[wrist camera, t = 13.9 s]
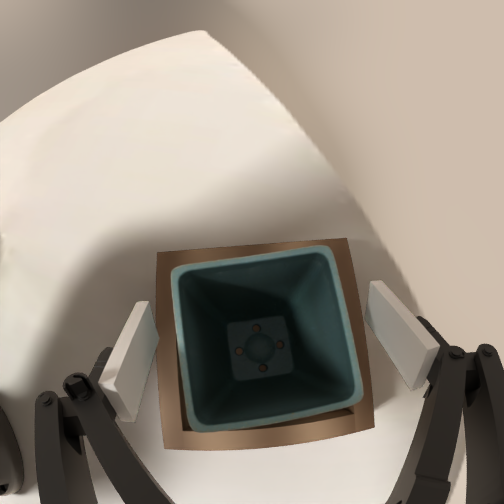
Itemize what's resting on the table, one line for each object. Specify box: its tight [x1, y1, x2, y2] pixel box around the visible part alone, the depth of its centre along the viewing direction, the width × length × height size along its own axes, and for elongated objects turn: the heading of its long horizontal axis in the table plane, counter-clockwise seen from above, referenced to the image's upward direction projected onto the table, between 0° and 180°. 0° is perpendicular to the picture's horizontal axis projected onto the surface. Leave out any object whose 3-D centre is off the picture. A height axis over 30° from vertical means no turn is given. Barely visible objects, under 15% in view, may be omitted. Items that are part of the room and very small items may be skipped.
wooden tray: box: [156, 238, 375, 451], centre depth 21 cm, size 15×15×4 cm
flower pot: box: [171, 245, 364, 433], centre depth 17 cm, size 9×9×9 cm
